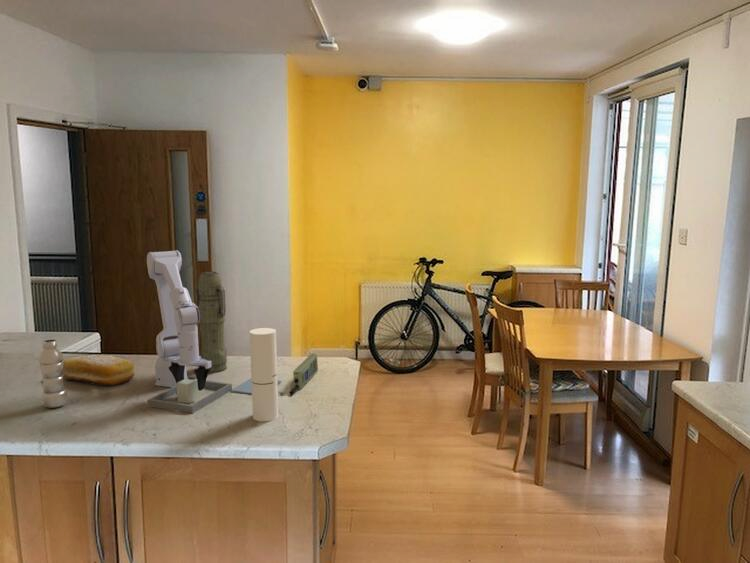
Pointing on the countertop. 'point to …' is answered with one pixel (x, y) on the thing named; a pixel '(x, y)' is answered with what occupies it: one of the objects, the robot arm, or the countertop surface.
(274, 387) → the cylindrical container
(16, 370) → the countertop surface
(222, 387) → the gray rectangular frame
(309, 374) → the handheld radio
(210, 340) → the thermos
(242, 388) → the rubber mat
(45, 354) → the plastic bottle
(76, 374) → the bread
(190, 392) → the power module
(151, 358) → the countertop surface
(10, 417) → the countertop surface
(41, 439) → the countertop surface
